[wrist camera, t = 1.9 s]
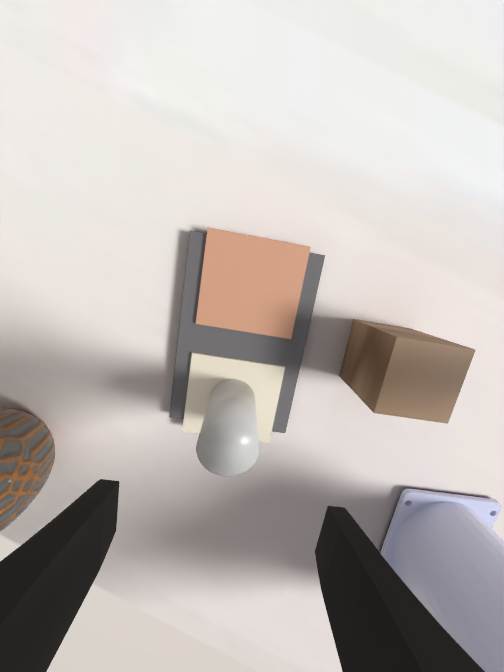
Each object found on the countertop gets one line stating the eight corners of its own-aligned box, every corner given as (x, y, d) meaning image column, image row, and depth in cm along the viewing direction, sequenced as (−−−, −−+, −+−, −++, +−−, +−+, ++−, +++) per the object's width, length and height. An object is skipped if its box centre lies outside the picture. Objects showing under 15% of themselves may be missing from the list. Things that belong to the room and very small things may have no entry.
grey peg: (251, 423, 18) (253, 479, 13) (206, 417, 18) (192, 472, 13) (258, 382, 17) (264, 425, 12) (212, 375, 17) (200, 416, 12)
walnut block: (393, 384, 18) (447, 423, 14) (338, 375, 18) (373, 412, 13) (411, 328, 18) (475, 349, 13) (353, 319, 17) (397, 337, 12)
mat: (281, 437, 19) (283, 444, 18) (170, 422, 18) (167, 429, 18) (323, 251, 16) (327, 249, 15) (192, 226, 16) (189, 224, 15)
